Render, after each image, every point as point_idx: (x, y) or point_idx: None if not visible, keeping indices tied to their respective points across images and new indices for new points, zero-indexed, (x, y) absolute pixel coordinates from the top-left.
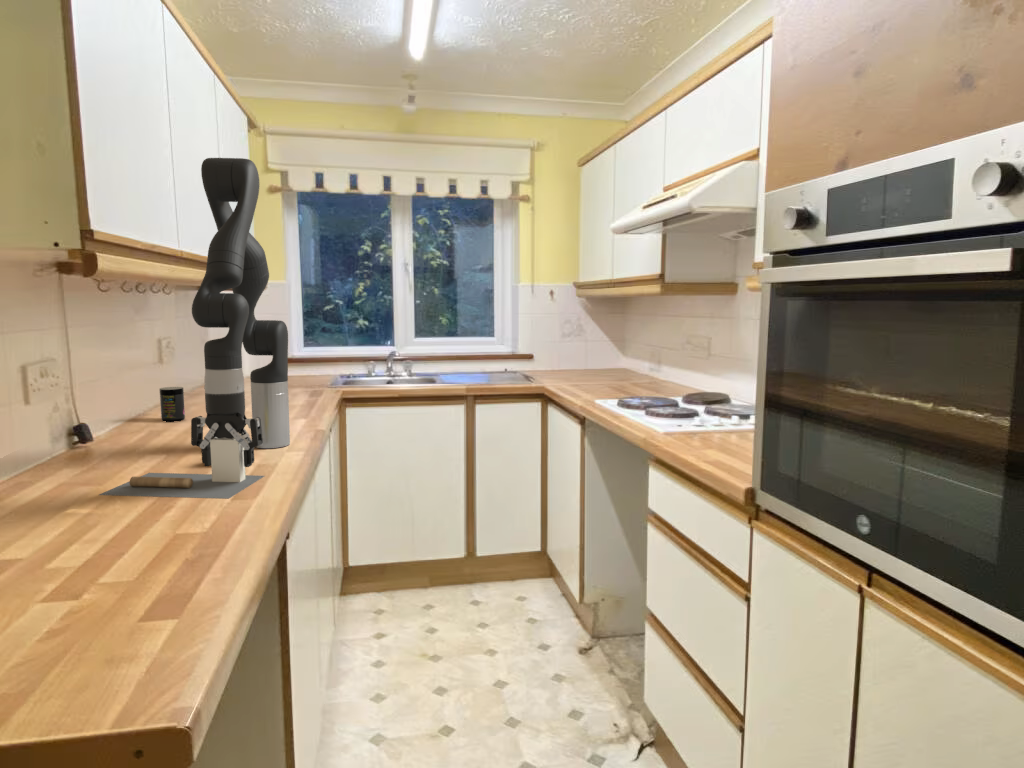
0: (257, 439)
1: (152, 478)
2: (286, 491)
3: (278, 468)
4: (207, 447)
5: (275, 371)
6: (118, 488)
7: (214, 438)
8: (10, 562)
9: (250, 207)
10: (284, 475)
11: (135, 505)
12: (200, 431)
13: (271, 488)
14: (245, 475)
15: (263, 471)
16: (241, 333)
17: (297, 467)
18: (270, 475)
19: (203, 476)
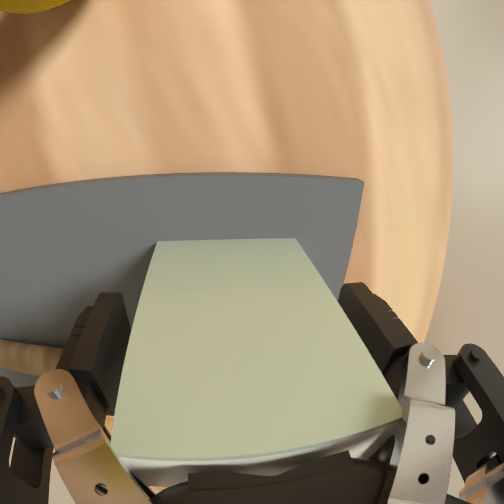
0: (463, 418)
1: (31, 373)
2: (424, 306)
3: (357, 11)
4: (103, 412)
5: None
6: None
7: (146, 475)
8: (158, 489)
9: None
10: (413, 132)
11: (112, 420)
12: (20, 490)
13: (393, 292)
14: (300, 246)
15: (308, 51)
16: None
17: (420, 18)
18: (365, 126)
19: (75, 224)
